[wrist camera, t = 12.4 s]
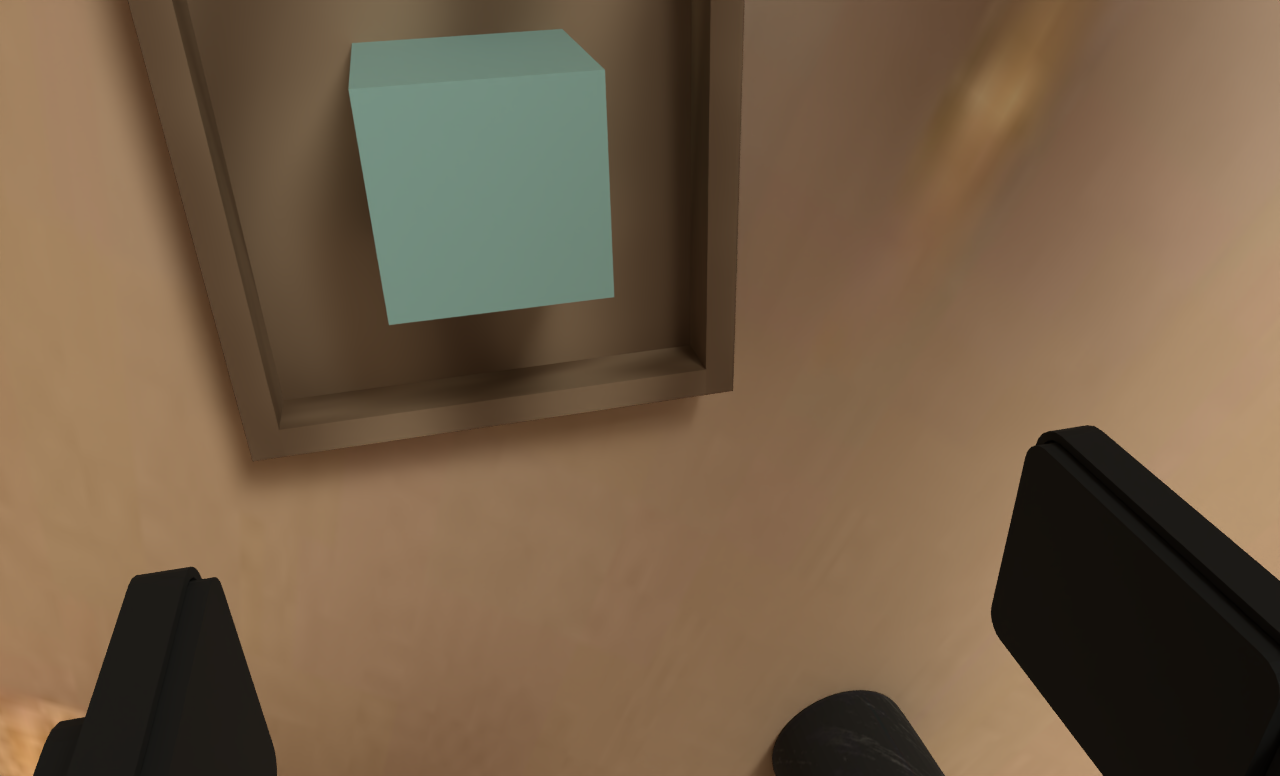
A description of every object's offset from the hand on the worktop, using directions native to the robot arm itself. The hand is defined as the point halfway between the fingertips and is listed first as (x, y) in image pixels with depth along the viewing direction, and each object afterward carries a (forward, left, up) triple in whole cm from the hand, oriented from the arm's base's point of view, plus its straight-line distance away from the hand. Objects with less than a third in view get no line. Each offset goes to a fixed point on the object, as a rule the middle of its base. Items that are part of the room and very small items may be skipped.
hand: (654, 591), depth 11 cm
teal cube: (0, 0, -21) cm, 21 cm away
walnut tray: (0, 0, -22) cm, 22 cm away
